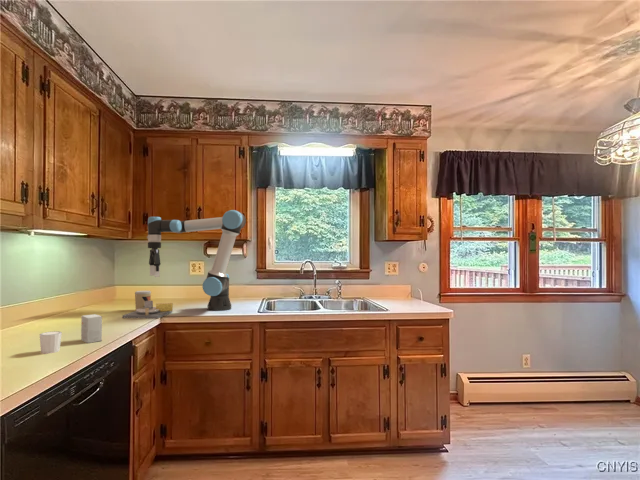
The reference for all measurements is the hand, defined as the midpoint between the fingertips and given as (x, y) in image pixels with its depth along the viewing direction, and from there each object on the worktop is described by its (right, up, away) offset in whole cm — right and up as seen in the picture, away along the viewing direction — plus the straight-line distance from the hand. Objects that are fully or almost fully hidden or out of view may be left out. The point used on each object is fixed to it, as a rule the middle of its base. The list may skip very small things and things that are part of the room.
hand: (154, 276), depth 230 cm
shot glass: (0, -20, -88) cm, 90 cm away
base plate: (+1, -22, -11) cm, 24 cm away
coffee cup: (-10, -22, +5) cm, 25 cm away
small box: (+5, -21, -71) cm, 74 cm away
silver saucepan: (+4, -20, -9) cm, 22 cm away
